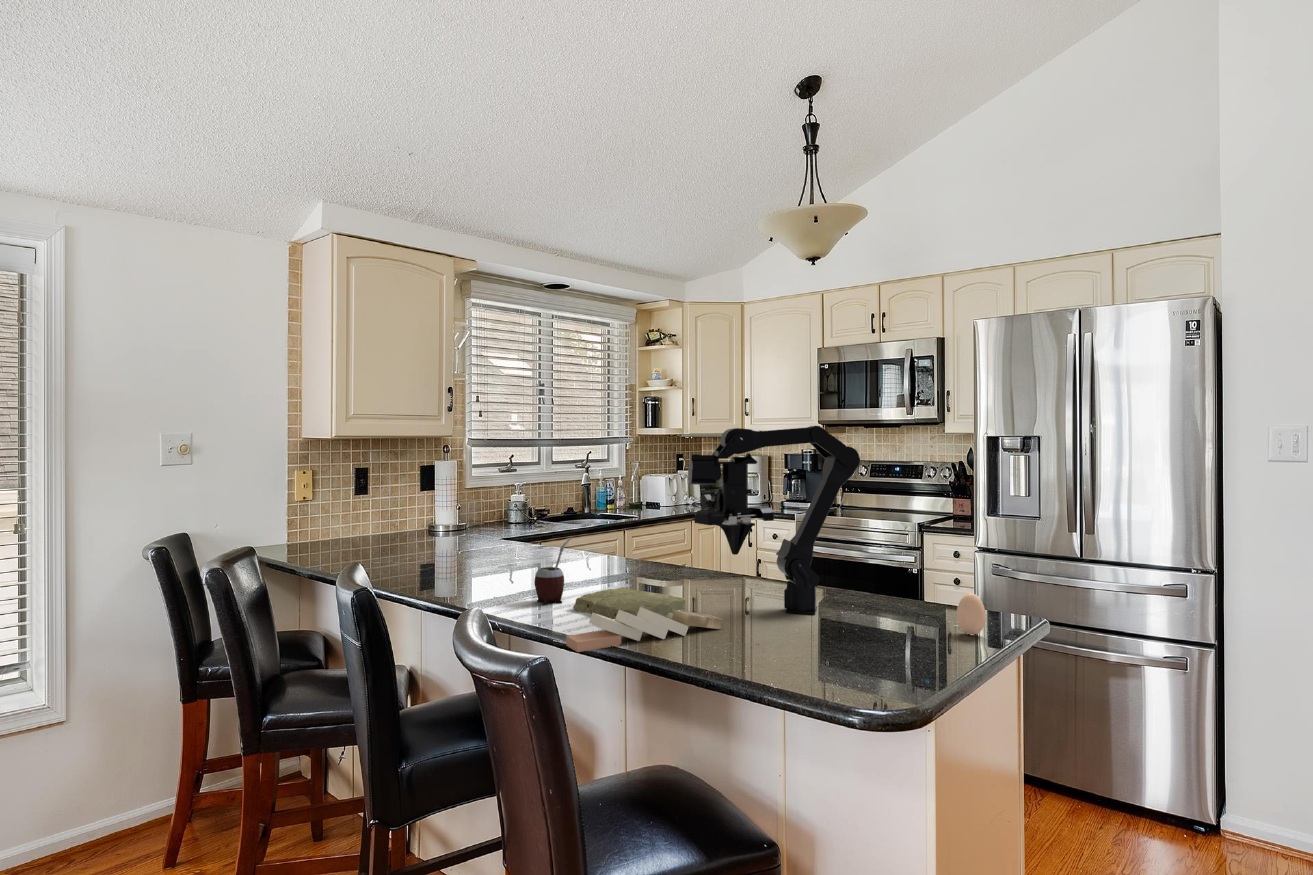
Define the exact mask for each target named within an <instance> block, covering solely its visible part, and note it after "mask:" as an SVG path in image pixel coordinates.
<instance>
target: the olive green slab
mask: <svg viewBox="0 0 1313 875" xmlns="http://www.w3.org/2000/svg"><path fill="white" fill-rule="evenodd" d="M574 602H575V603H574V604H573V606H572V609H573V610H574V611H575V610H576V611H575V612H579V611H581V613H588V614H591V615H592V613H596V614H599V615H601V616H604V617H607V618H610V619H615V618H616V616H617V613H618V611H619V610H622V611H624V612H627V613H629V614H632V615H634V616H637V614H638V611H639V609H640V607H642V608H645V609H647V610H650V611H652V612H654V613H657V614H659V615H665V616H667V615H666V614H668V613H671V614H673V612H674V610H680V611H683V610H682V609H684V610H685V608H686V609H687V604H686V603H687V602H686V598H684V597H678V596H673V595H669V594H665V593H657V592H656V593H655V592H650V591H645V590H639V589H638V590H637V589H630V588H628V587H623V586H622V587H618V588H609V589H603V590H599V591H598V590H597V591H595V592H592V593H590V592H589V593H586V594H583V595H581V596H580V597H577V598H576V599H575V601H574ZM668 615H669V614H668Z"/></svg>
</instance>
